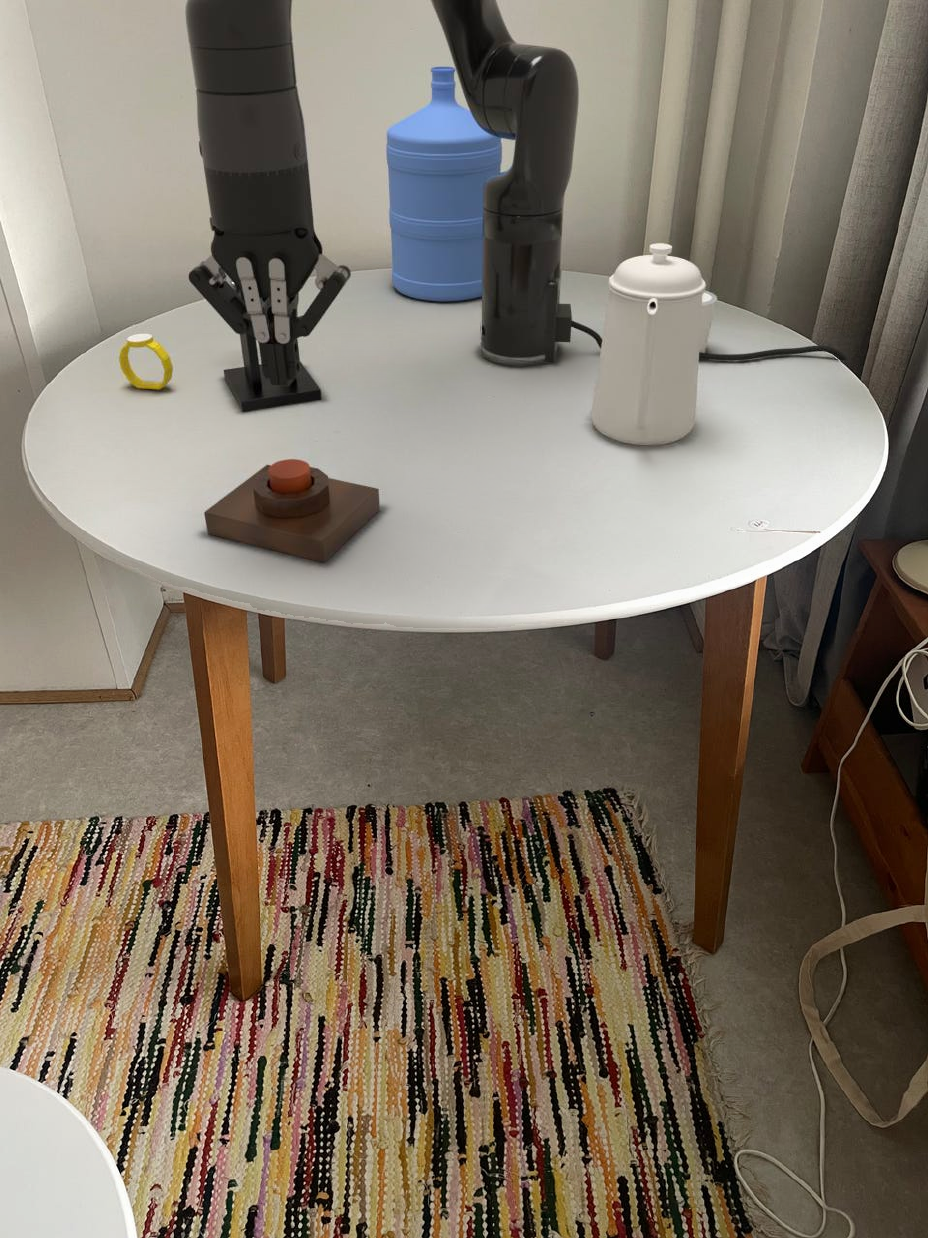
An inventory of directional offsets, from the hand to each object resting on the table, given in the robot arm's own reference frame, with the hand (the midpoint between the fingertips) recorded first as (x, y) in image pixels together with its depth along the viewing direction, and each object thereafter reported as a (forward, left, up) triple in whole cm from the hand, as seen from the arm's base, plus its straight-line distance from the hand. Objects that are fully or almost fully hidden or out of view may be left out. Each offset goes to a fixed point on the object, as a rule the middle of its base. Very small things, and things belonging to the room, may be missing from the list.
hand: (282, 382), depth 83 cm
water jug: (-3, -69, -13) cm, 70 cm away
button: (0, 0, -10) cm, 10 cm away
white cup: (-36, -47, -13) cm, 60 cm away
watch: (+25, -27, -13) cm, 39 cm away
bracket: (+11, -29, -13) cm, 34 cm away
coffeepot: (-31, -24, -13) cm, 41 cm away
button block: (0, 0, -13) cm, 13 cm away
